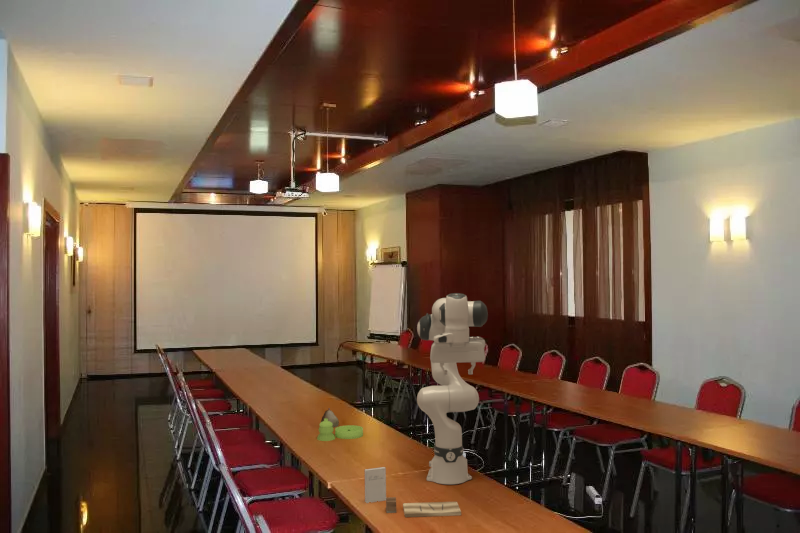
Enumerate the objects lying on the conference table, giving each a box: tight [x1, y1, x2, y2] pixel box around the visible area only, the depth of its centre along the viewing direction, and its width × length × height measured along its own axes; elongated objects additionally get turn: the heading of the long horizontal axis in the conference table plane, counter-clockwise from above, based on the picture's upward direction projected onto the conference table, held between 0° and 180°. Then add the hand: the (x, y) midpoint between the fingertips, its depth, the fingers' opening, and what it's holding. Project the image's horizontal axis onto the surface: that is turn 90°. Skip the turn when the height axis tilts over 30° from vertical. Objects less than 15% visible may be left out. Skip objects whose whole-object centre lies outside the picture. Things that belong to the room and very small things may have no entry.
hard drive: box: [364, 466, 387, 504], centre depth 250 cm, size 2×8×12 cm, turn 112°
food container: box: [317, 418, 364, 442], centre depth 345 cm, size 25×14×13 cm, turn 119°
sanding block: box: [385, 496, 397, 514], centre depth 240 cm, size 5×4×4 cm
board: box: [402, 501, 462, 518], centre depth 239 cm, size 11×20×1 cm, turn 93°
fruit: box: [320, 408, 340, 428], centre depth 369 cm, size 10×9×12 cm
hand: (457, 374), depth 245 cm, fingers open, 8 cm apart
